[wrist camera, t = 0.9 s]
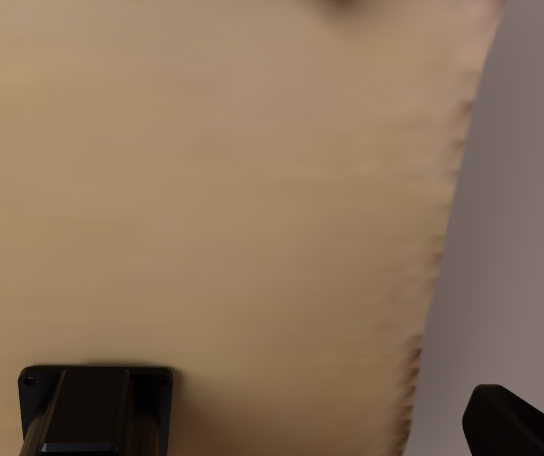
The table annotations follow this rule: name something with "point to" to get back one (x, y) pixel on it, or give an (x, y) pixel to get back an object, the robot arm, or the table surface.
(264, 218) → the table surface
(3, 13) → the table surface
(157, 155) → the table surface
